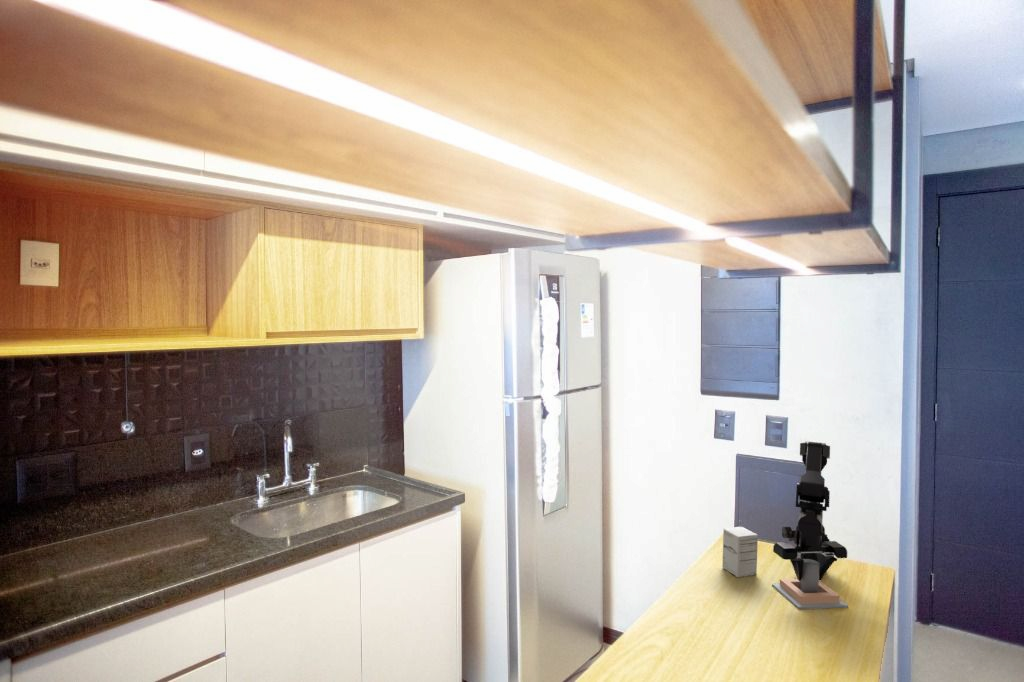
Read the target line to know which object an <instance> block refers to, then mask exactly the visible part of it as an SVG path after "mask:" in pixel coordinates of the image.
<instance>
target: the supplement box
mask: <svg viewBox="0 0 1024 682" xmlns="http://www.w3.org/2000/svg"><path fill="white" fill-rule="evenodd" d="M722 536H723V538H722V569H724V570H726V571H727V572H729V573H731V575H734V577H736V578H743V577H742V576H744V577H749V576H748V575H750V576H754V574H756V575H757V573H758V571H757V570H758V569H757V567H758V544H759V543H758V541H759V539H758V537H759V535H758V534H757V533H755V532H753V531H751V530H750V529H747V528H745V527H744V526H734V527H727V528H723V535H722Z"/></svg>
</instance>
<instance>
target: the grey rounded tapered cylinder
mask: <svg viewBox="0 0 1024 682" xmlns="http://www.w3.org/2000/svg"><path fill="white" fill-rule="evenodd" d="M803 560H804V564H803V571H802V578H801V581H800V588H799V589H800V590H801V591H802V592H803V593H818V592H819V570H820V563H819V562H817V561H814V560H811V559H803Z"/></svg>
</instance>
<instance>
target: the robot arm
mask: <svg viewBox="0 0 1024 682" xmlns="http://www.w3.org/2000/svg"><path fill="white" fill-rule="evenodd" d="M830 454H831V445H828V444H827V443H826V442H818V441H807V440H806V441H804V442H801V443H799V456H801V457H802V458H801V461H802V463H803V464H804V467H805V470H804V473H803V474H801V475H800V477H799V482H797V483H796V495H795V507H796V508H799V517H798V521H797V525H796V528H795V529H792V527H791V526H782V527H781V528H782V529H781V537H782V538H783V539H788V540H787V541H788V542H787V541H786V542H775V543H774V544H773V549H772V550H773V553H775V554H776V555H777V556H778V557H779V558H781V559H782V560H790V563H791V565H792V569H793V571H794V573H795V575H796V578H797V579H798V580H799V581H801V578H802V571H803V564H804V560H803V559H811V560H814V561H817V562H819V563H820V570H819V580H820V581H822V579H823V578H824V577H825V574H827V572H828V570H829V569H830V568H831V566H832V565H833V564H834V563H835V562H837V561H838V559H847V558H848V550H847V547H846V546H844V545H843V544H841V543H839V542H838V541H836V540H832V541H831V540H830V539H829V537H828V534H827V533H826V529H825V528H826V527H825V526H824V523H823V515H824V514H823V513H824V512H827V510H828V509H827V508H830V495H831V494H830V490H829V488H828V486H825V482H826V481H825V478H824V476H823V475H822V471H824V468H825V467H826V466H827V464H828V459H831V457H830V456H831V455H830ZM790 542H793V543H794V544H795V545H796V546H793V545H792V544H791V543H790Z"/></svg>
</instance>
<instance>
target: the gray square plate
mask: <svg viewBox="0 0 1024 682" xmlns="http://www.w3.org/2000/svg"><path fill="white" fill-rule="evenodd" d="M771 587H773V588H774V587H775V588H776V589H777V590H776V589H775V588H774V589H775V590H776V591H777V592H779V593H780V594H781V595H782V596H783V597H784V596H785V597H786V598H785V597H784V598H785V599H787V600H788V601H789V602H790V603H791V604H792V605H793V606H794V607H796V608H797V609H798V610H809V609H810V610H813V609H842V608H843V609H846V608H849V604H847V603H846V602H844V601H843V600H842V599H841V596H840V594H838V593H837V592H835V591H834V590H833V589H831V588H830V587H829V586H828V585H826V584H825V583H824V582H822V580H819V592H818V593H803V592H802V591H801V590H800V589H799V588H800V581H799V580H798V579H797V577H796V578H779V582H778V583H771Z"/></svg>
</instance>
